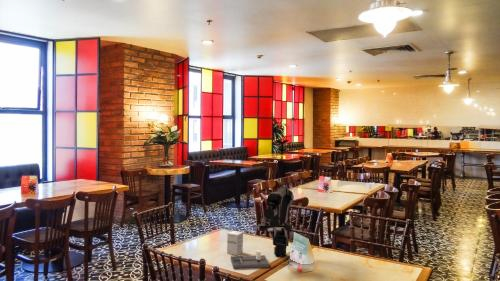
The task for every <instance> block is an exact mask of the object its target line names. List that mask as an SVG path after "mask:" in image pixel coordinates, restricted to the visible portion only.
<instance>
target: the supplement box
mask: <svg viewBox="0 0 500 281" xmlns="http://www.w3.org/2000/svg"><path fill="white" fill-rule="evenodd" d="M226 239H227V240H226V242H227V244H226V254H229V255H233V256H238V255H239V256H240V254H241V253H243V250H244V248H243V246H244V245H243V244H244V232H243V231H237V230H232V231H230V232H227V238H226Z"/></svg>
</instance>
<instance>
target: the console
mask: <svg viewBox="0 0 500 281" xmlns="http://www.w3.org/2000/svg"><path fill="white" fill-rule="evenodd" d="M230 263H231V266H232V268H233V270H236V269H237V270H239V269H260V268H261V269H263V268H264V269H265V268H270V263H269V261H268V259H267V257H266V255H264V254H261V260H257V259H256V255H239V256H238V255H233V256H230Z"/></svg>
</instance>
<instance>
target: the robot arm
mask: <svg viewBox="0 0 500 281" xmlns="http://www.w3.org/2000/svg"><path fill="white" fill-rule="evenodd" d="M294 196H295V195H294V193H293V191H292V190H290V189H289V187H287V186H280V187H279V188H278V189H277V190H276V191H273V192H269V194H268V195H267V197H266V198H267V199H266V202H265V206H267V208H266V209H265V210H264V213H263V215H264V223H258V224H257V228H256V229H257V230H258V231H259V232H265V231H267V232H269V233H270V235H271V236H270V237H271V239H272V245H273V246H274V247H273V248H274V249H273V251H274V252H273V255H275V257H276V258H277V257H279V258H280V257H282V258H283V257H288V254H287V247H289V239H288V238H289V237H288V233H287V231H292V225H290V223H288V222H287V220H288V214H289V209H290V206H292V205H293V201H294V200H295V197H294ZM265 223H267V225H266V224H265Z"/></svg>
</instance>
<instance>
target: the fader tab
mask: <svg viewBox="0 0 500 281" xmlns="http://www.w3.org/2000/svg"><path fill="white" fill-rule="evenodd" d="M261 255H262V251H261V250H260V249H256V250H255V256H256V259H257V260H261Z"/></svg>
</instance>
